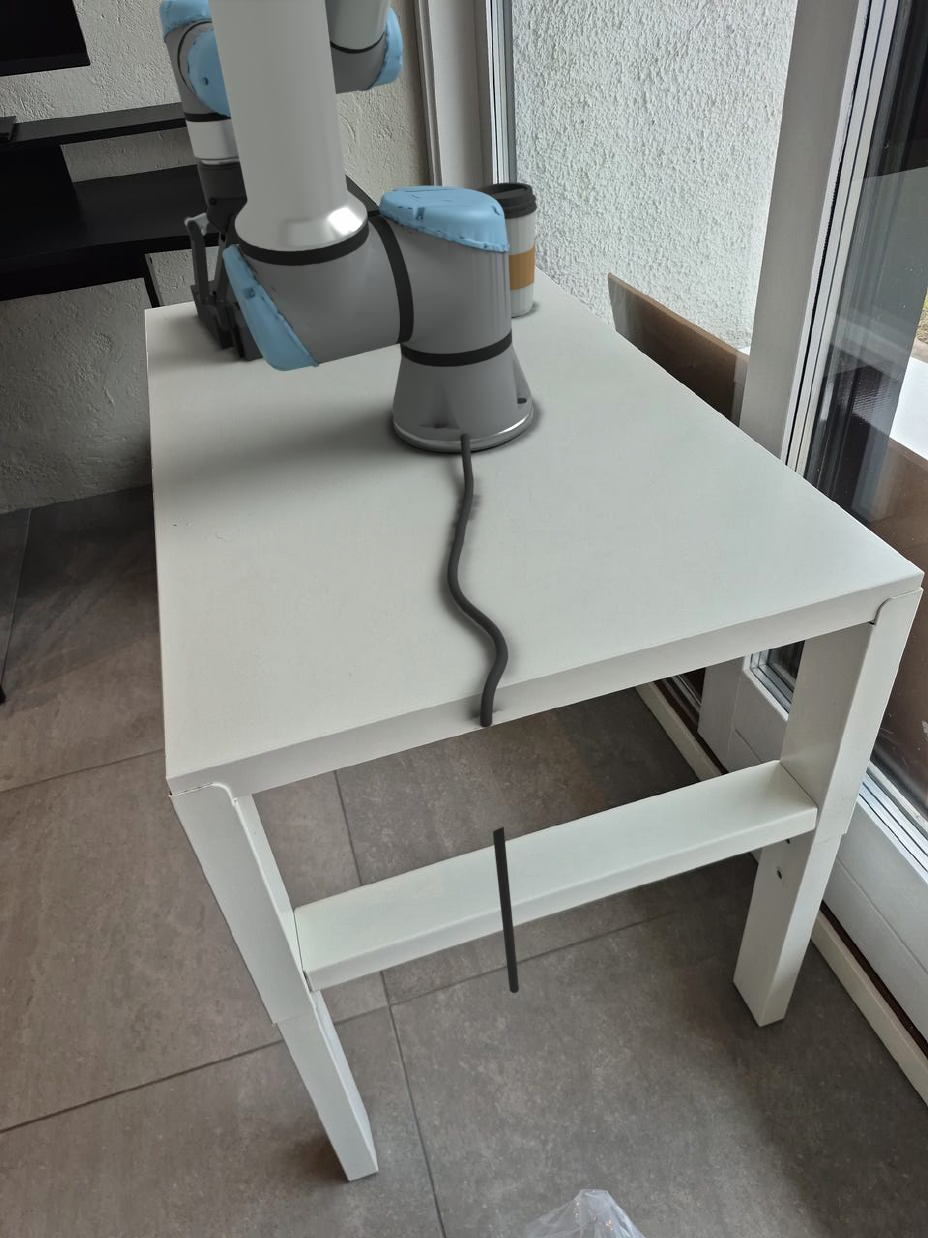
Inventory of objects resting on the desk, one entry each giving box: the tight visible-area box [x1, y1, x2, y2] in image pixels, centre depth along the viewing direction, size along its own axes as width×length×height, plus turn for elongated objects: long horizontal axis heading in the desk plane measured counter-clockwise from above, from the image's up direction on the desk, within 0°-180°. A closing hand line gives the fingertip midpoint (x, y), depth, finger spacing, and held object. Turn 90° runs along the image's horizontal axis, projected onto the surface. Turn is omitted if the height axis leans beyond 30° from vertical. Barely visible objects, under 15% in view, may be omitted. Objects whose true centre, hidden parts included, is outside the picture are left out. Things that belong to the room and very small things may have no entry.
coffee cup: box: [475, 181, 538, 318], centre depth 117 cm, size 8×8×15 cm
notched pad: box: [189, 279, 241, 349], centre depth 125 cm, size 14×12×4 cm
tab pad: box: [234, 310, 263, 362], centre depth 119 cm, size 9×8×4 cm
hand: (271, 343), depth 119 cm, fingers closed on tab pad, 8 cm apart
